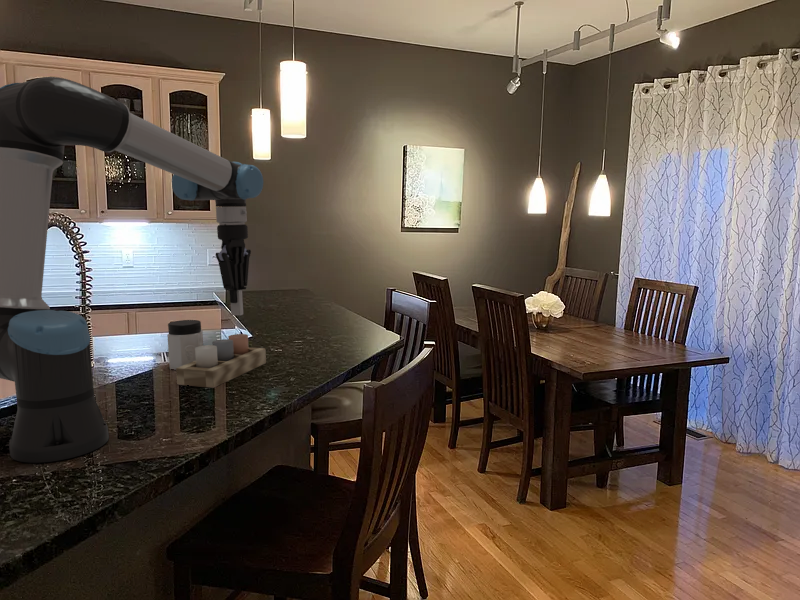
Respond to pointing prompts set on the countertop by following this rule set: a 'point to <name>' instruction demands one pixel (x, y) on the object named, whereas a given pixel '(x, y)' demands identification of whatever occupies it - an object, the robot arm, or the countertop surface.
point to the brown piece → (240, 343)
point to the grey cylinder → (224, 349)
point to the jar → (183, 342)
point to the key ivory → (206, 356)
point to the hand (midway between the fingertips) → (237, 314)
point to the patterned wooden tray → (220, 369)
